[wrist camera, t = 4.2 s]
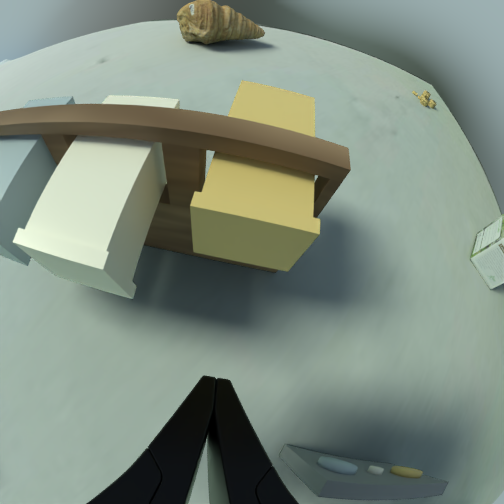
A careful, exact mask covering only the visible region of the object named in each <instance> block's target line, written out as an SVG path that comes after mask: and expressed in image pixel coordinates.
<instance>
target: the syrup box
mask: <svg viewBox="0 0 504 504" xmlns="http://www.w3.org/2000/svg"><path fill="white" fill-rule="evenodd" d="M471 261H472V263H473V264H474V266H475V267H476V269H477V270H478V272H479V273H480V275H481V276H482V278H483V279H484V281H485V282H486V284H487V285H488V287H489V288H490V289H493V288H495V287H497V286H499V285H501V284H503V283H504V214H503V215H501V216H500V217H499V218H497V219H496V220H495V221H493V222H492V223H491V224H489V225H488V226H487V227H485V228H484V229H482V230H481V231H479V232H478V233H477V236H476V240H475V244H474V247H473V251H472V254H471Z"/></svg>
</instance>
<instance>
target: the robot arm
mask: <svg viewBox="0 0 504 504" xmlns="http://www.w3.org/2000/svg"><path fill="white" fill-rule="evenodd" d="M206 439H207V458H208V483H209V502H210V504H299V503H298V502H297V501H296V500H295V498H294V497H293V496H292V495H291V493H290V492H289V491H288V489H287V488H286V486H285V485H284V483H283V481H282V480H281V478H280V477H279V475H278V473H277V471H276V470H275V468H274V467H273V466H272V463H271V461H270V459H269V457H268V455H267V454H266V452H265V450H264V448H263V446H262V444H261V442H260V440H259V438H258V437H257V435H256V433H255V431H254V429H253V427H252V425H251V423H250V421H249V419H248V417H247V415H246V413H245V411H244V409H243V407H242V405H241V402H240V400H239V398H238V396H237V394H236V392H235V390H234V388H233V385H232V383H231V381H230V380H228V379H222V378H217V379H216V378H215V377H211V376H202V378H201V379H200V380H199V382H198V383H197V384H196V386H195V387H194V388H193V390H192V391H191V392H190V393H189V395H188V396H187V397H186V399H185V400H184V401H183V403H182V404H181V405H180V407H179V408H178V409H177V410H176V412H175V413H174V414H173V416H172V417H171V418H170V419H169V421H168V422H167V423H166V424H165V426H164V427H163V428H162V430H161V431H160V432H159V433H158V435H157V436H156V437H155V438H154V440H153V441H152V442H151V443H150V445H149V446H148V448H146V449H145V451H144V452H143V453H142V454H141V455H140V457H139V458H138V459H137V460H136V461H135V462H134V463H133V464H132V466H131V467H130V468H129V469H128V470H127V471H126V472H124V473H123V474H122V475H121V476H120V477H119V478H118V479H117V480H116V481H114V482H113V483H112V484H111V485H110V486H108V487H107V488H106V489H105V490H103V491H102V492H101V493H100V494H98V495H97V496H96V497H95V498H93V499H92V500H91V501H89V502H88V503H87V504H188V503H189V500H190V496H191V493H192V489H193V486H194V482H195V479H196V475H197V472H198V468H199V464H200V461H201V457H202V454H203V450H204V447H205V443H206ZM271 466H272V467H271Z"/></svg>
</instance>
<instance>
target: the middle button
mask: <svg viewBox="0 0 504 504" xmlns="http://www.w3.org/2000/svg"><path fill="white" fill-rule="evenodd" d="M102 104H124V105H142V106H155V107H165V108H175V109H180V108H179V100H178V99H168V98H157V97H142V96H111V95H109V96H108V97H107V98H106V99H105V100H104V101H103V103H102ZM166 182H167V180H166V173H165V166H164V159H163V151H162V143H160V142H152V141H144V140H135V139H125V138H114V137H101V136H85V135H77V137H76V138H75V140H74V141H73V143H72V144H71V146H70V147H69V149H68V150H67V152H66V153H65V155H64V156H63V158H62V159H61V161H60V163H59V164H58V166H57V168H56V169H55V171H54V173H53V174H52V176H51V178H50V180H49V181H48V183H47V185H46V187H45V189H44V191H43V192H42V194H41V196H40V198H39V200H38V202H37V204H36V206H35V208H34V210H33V212H32V214H31V217H30V219H29V221H28V223H27V225H26V228H25V229H21V228H18V230H17V232H16V235H15V237H14V240H13V243H14V244H15V245H17V246H18V247H19V248H20V249H22V250H23V251H24V252H25V253H26V254H28V255H29V256H30V257H31V258H33V259H34V260H35V261H37V262H38V263H39V264H41V265H42V266H43V267H45V268H46V269H47V270H49V271H50V272H51V273H53V274H54V275H55V276H58V277H61V278H64V279H67V280H70V281H73V282H76V283H79V284H82V285H85V286H89V287H92V288H95V289H99V290H102V291H105V292H109V293H112V294H116V295H119V296H123V297H126V298H130V299H133V298H134V294H135V290H136V287H137V286H136V285H135V284H134V283H133V281H132V280H133V277H134V274H135V270H136V267H137V264H138V260H139V257H140V254H141V251H142V248H143V245H144V242H145V239H146V236H147V233H148V230H149V227H150V224H151V222H152V219H153V216H154V213H155V211H156V208H157V205H158V203H159V200H160V197H161V195H162V192H163V190H164V187H165V185H166Z"/></svg>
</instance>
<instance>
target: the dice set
mask: <svg viewBox="0 0 504 504" xmlns="http://www.w3.org/2000/svg"><path fill="white" fill-rule="evenodd" d="M413 94H414V95H416V96H417V93H416V92H415V91H413ZM429 97H430V93H429V92H427V91H424V92H423V94H422V95H421V97H420V96H418V99H420V100H421V101H420V103H421V104H422V105H423V106H425V107H426V106H427V105H429V106H430V107H431V108H434V107H435V106H436V102H435V101H434V100H432V99H430V101H429V100H428V98H429Z"/></svg>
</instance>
